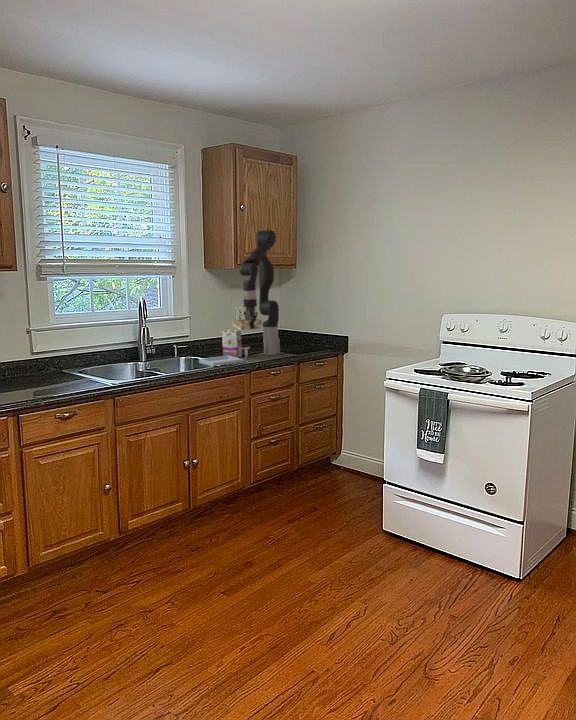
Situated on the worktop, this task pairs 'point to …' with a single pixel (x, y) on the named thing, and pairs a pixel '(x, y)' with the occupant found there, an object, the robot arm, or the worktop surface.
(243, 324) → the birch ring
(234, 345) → the candy bar box
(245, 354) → the steel T-stake
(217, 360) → the tray
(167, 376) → the worktop surface
